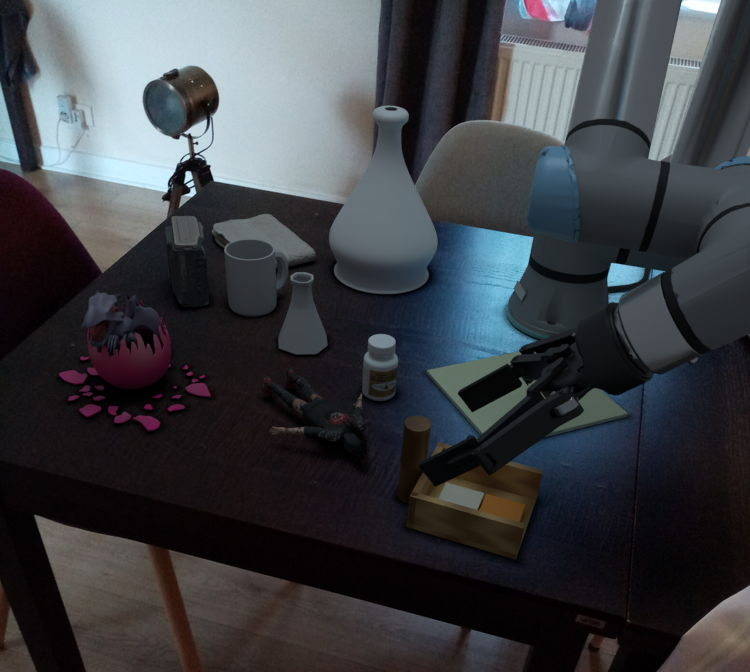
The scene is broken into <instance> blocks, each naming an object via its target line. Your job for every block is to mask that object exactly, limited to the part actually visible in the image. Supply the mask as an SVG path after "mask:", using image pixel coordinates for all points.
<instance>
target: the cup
mask: <svg viewBox="0 0 750 672" xmlns="http://www.w3.org/2000/svg"><path fill="white" fill-rule="evenodd" d="M223 253H224V254H223V255H224V265H225V266H224V267H225V280H226V291H227V302H228V307H229V308H230V310H231V311H232V312H233V313H234V314H237V315H239V316H242V317H247V318H249V317H250V318H256V317H262V316H266V315H269V314H270V313H272V312H274V310H275V309H276V307H277V303H278V302H277V300H278V299H277V298H278V297H277V296H278V294H277V293H278V292H279V291H281V290H283V288H284V287H285V286H286V284H287V281H288V279H289V266H288V262H287V259H286V257H285V255H284V253H283V252H282V251H281V250H278V249H275V248H274V246H273V245H272V244H271V243H269V242H266V241H263V240H258V239H241V240H236V241H233V242H231V243H229V244H227V245H226V246H225V248H224V247H223ZM275 260H276V261H277V265H278V268H277V269H276V262H275Z"/></svg>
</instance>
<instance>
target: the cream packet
mask: <svg viewBox="0 0 750 672" xmlns="http://www.w3.org/2000/svg"><path fill="white" fill-rule="evenodd" d="M483 498H484V493H482V492H479V491H475V490H472V489H468V488H465V487H461V486H457V485H454V484H450V483H446V484H445V486H444V488H443V490H442V492H441V494H440V496H439V498H438V499H441V500H444V501H448V502H451V503H455V504H458V505H462V506H465V507H469V508H472V509H476V510H479V509H480V507H481V504H482V502H483Z"/></svg>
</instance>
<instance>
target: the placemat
mask: <svg viewBox="0 0 750 672" xmlns="http://www.w3.org/2000/svg"><path fill="white" fill-rule="evenodd" d="M535 354H536V352H535ZM517 355H521V353H520V352H519V350H518V351H514V352H509V353H504V354H499V355H494V356H489V357H484V358H480V359H475V360H470V361H465V362H459V363H454V364H450V365H446V366H445V365H444V366H441V367H436V368H431V369H426V375H427V377H429V379H430V380H431V381H432V382H433V383H434V384H435V385H436V387H437V388H438V389H439V390H440V391H441V392H442V393H443V394H444V395H445V397H446V398H447V399H448V400H449V401H450V402H451V404H452V405H453V406H454V407H455V408H456V409H457V410H458V412H459V413H460V414H461V415H462V416H463V417H464V418H465V419H466V420H467V422H468V423H469V424H470V425H471V426H472V427H473V429H475V431H476V432H477V433H478V434H479V436H480V435H482V434H483V433H484V432H485V431H486V430H487V429H489V428H490V427H491V426H492V425H493V424H494V423H496V422H497V421H498V420H499V419H500V418H501V417H503V416H504V415H505V414H506V413H507V412H508V411H510V410H511V409H512V408H513V407H514V406H515V405H517V404H518V403H519V402H520V401H521V400H522V399H524V398H525V397H526V395H527V389H528V387H529V386H531V385H532V384H533V383H534V382H535V381H536V380H534V381H533V382H532V383H531V384H528V385H529V386H527V384H526V383H525V382H524V380H523V379H522V378H519V379H520V381H521V382H522V386H521V387H520V388H518V389H516V390H514V391H512V392H510V393H508V394H506V395H505V396H503V397H501V398H499V399H497V400H495V401H493V402H491V403H489V404H488V405H486V406H484V407H482V408H480V409H478V410H476V411H474V412H471V410H470V409H469V408H468V407H467V405H466V404H465V403H464V401H463V400H462V399H461V398H460V396H459V395H458V392H459V390H461V389H462V388H464V387H466V386H468V385H470V384H471V383H473V382H475V381H477V380H479V379H480V378H482V377H484V376H486V375H488V374H489V373H491V372H493V371H495V370H496V369H498V368H500V367H502V366H504V365H505V364H507V363H508V364H509V365H510V364H511V363H510V361H511V360H512V358H513V357H515V356H517ZM541 394H542V393H541ZM542 396H543V394H542ZM543 397H544V396H543ZM544 398H545V397H544ZM578 402H579V403H580V405H581V406H582V407H583V409H584V411H583V413H582V414H581V415H580V416H578V417H576V418H574V419H572V420H570V421H568V422H567V423H565V424H563V425H561V426H559V427H558V428H557V429H555V430H554V431H552V432H551V433H549V434H548V435H547V436H545V437H544V438H549V437H551V436H555V435H560V434H563V433H568V432H572V431H575V430H581V429H583V428H588V427H592V426H597V425H600V424H603V423H607V422H612V421H616V420H619V419H620V420H621V419H624V418H627V417H628V414H629V413H628V412H627V411H626V410H625V409H623V407H621V406H620V404H618V403H616V401H614V400H613V399H612V398H611V397H610V396H609V395H607V393H606V392H605V391H603V390H601V389H597V388H593V389H592V390H591V391H589V392H588V393H587V394H586V395H585V396H584V397H583V398H582V399H580V400H579V401H578Z"/></svg>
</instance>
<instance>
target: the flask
mask: <svg viewBox="0 0 750 672" xmlns="http://www.w3.org/2000/svg"><path fill="white" fill-rule="evenodd" d="M314 282H315V277H314V274H313V273H309V272H306V271H296V272H294V273H293V274H291V275H290V284H291V285H292V292H291V298H290V303H289V306H288V309H287V312H286V315H285V319H284V320H283V323H282V326H281V328H280V331H279V334H278V338H277V341H278V343H277V344H278V349H280V350H282V351H285V352H288V353H290V354H293V355H318V354H319V353H320V352H321V351H323V350H324V349H325V348H327V346H328V345H329V343H328V338H327V337H328V336H327V333H326V329H325V327H324V325H323V323H322V320H321V318H320V315H319V313H318V310H317V307H316V304H315V301H314V295H313V283H314Z"/></svg>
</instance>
